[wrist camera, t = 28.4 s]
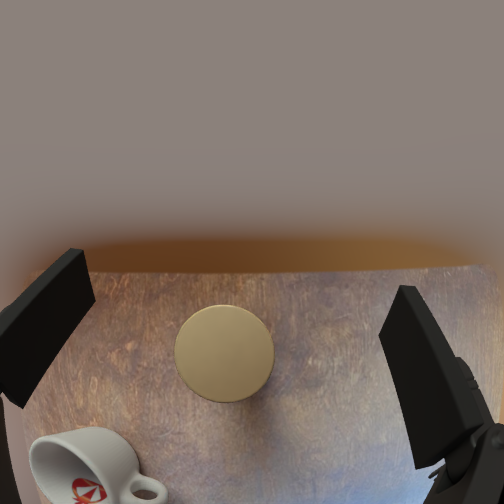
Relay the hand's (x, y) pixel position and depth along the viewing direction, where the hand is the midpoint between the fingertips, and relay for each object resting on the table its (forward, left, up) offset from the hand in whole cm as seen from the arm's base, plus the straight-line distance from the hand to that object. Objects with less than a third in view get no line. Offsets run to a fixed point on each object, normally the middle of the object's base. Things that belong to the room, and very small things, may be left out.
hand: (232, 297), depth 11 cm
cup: (+8, -16, -13) cm, 22 cm away
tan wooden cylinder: (+2, -1, -12) cm, 13 cm away
